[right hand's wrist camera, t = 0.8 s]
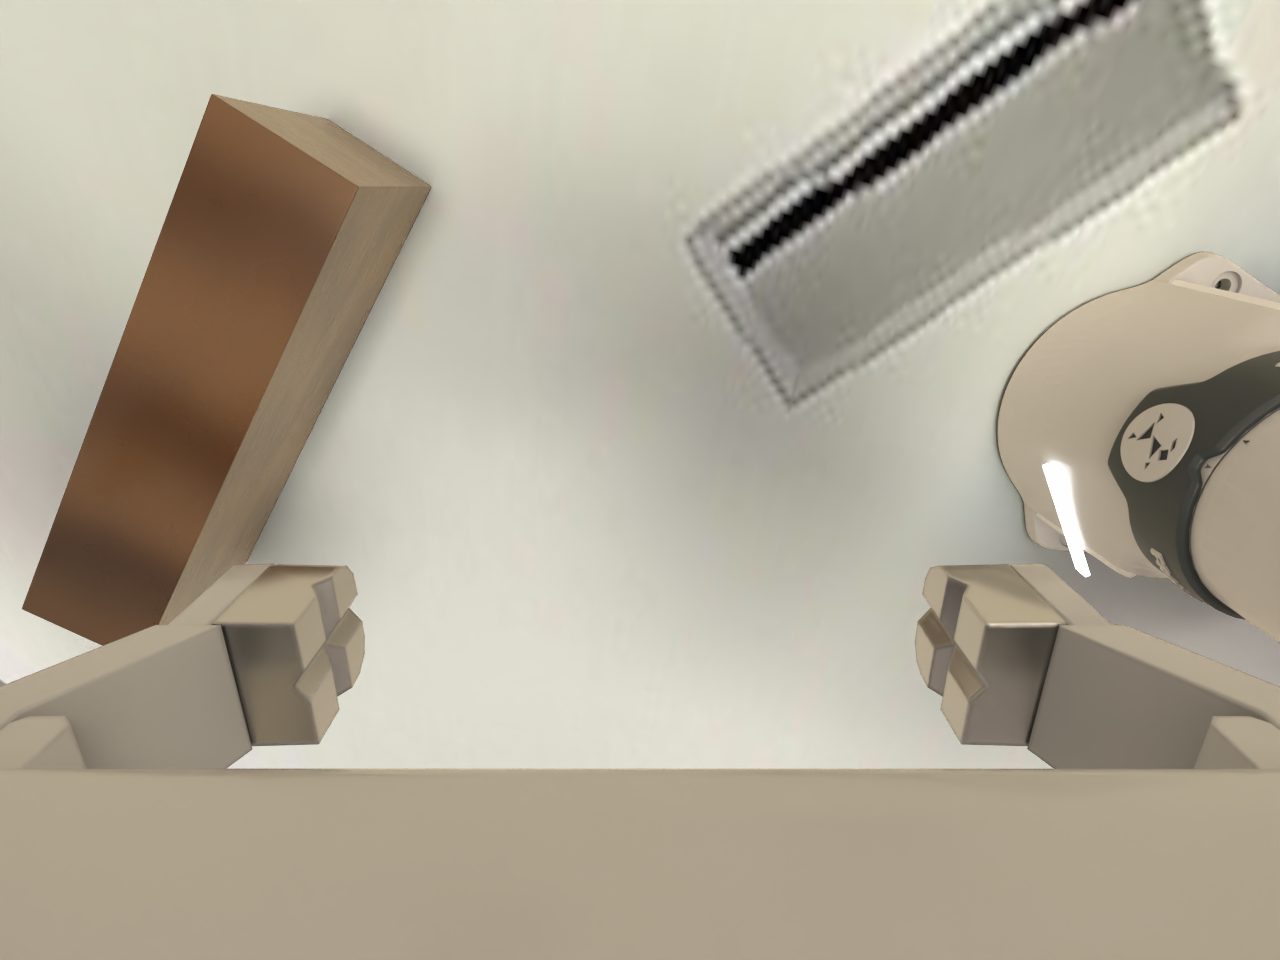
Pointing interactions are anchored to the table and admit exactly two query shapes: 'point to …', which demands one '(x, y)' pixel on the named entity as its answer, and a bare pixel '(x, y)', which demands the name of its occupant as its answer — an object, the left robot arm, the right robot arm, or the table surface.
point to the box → (222, 364)
